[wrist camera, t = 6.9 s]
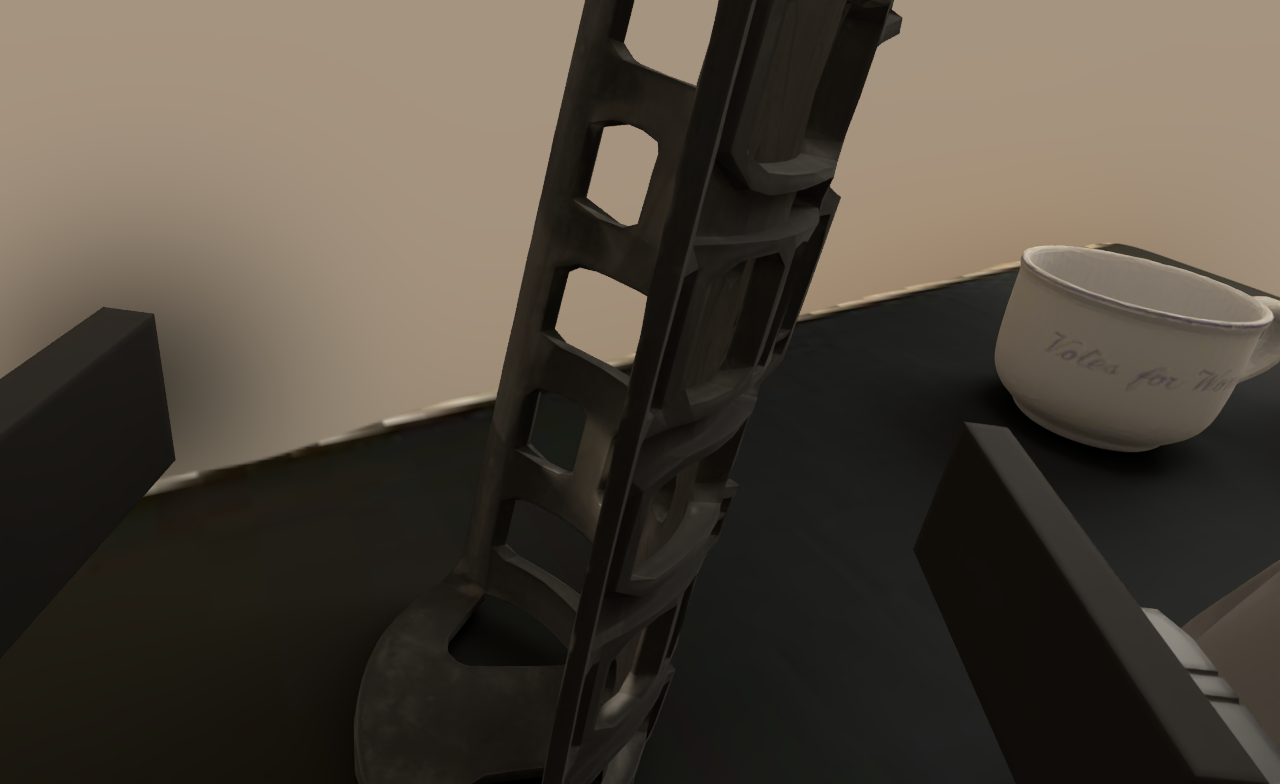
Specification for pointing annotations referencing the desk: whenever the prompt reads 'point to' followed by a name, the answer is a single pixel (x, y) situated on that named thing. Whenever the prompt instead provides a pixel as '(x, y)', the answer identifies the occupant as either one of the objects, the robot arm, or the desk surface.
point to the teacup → (1127, 346)
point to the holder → (630, 393)
